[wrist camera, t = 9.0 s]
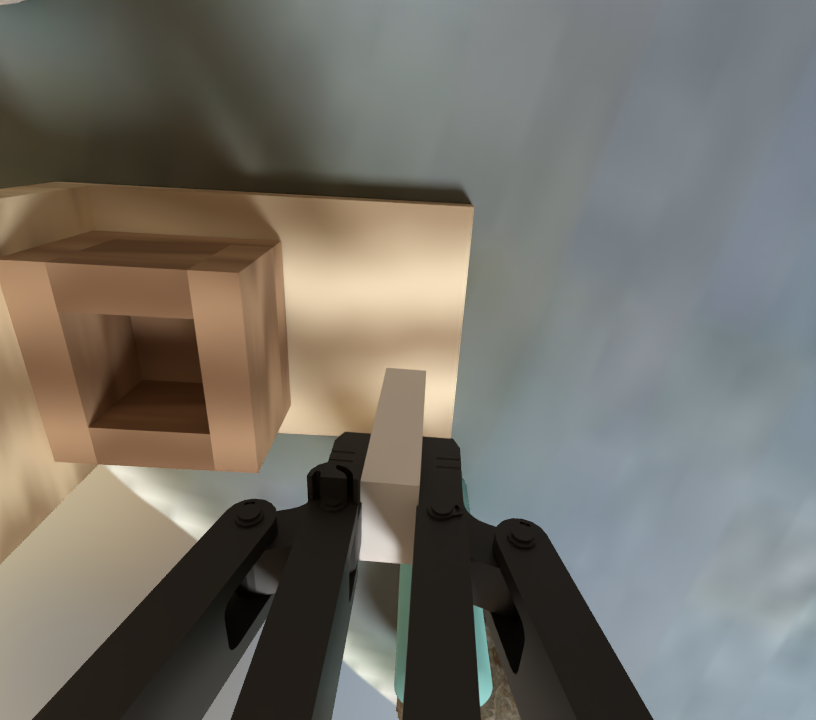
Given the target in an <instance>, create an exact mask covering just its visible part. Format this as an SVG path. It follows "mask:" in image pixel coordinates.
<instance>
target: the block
mask: <svg viewBox="0 0 816 720" xmlns="http://www.w3.org/2000/svg"><path fill="white" fill-rule="evenodd" d="M0 285H1V289H2V292H3V295H4V298H5V302H6V305H7V308H8V311H9V315H10V318H11V321H12V324H13V328H14V331H15V334H16V337H17V341H18V344H19V347H20V350H21V354H22V357H23V360H24V363H25V367H26V370H27V373H28V376H29V380H30V383H31V386H32V389H33V393H34V396H35V399H36V402H37V406H38V409H39V412H40V415H41V419H42V422H43V425H44V428H45V432H46V435H47V438H48V441H49V445H50V448H51V451H52V454H53V458H54V461H55V462H67V463H85V464H103V465H121V466H139V467H157V468H175V469H193V470H211V471H229V472H247V473H259V470H260V468H261V466H262V464H263V462H264V460H265V458H266V456H267V454H268V452H269V450H270V448H271V446H272V443H273V441H274V439H275V437H276V435H277V433H278V431H279V429H280V427H281V425H282V423H283V421H284V419H285V417H286V414H287V412H288V410H289V408H290V406H291V396H290V378H289V361H288V344H287V327H286V309H285V292H284V275H283V258H282V241H275V240H257V239H239V238H221V237H203V236H184V235H166V234H148V233H130V232H112V231H89V232H86V233H82V234H79V235H75V236H72V237H69V238H65V239H62V240H58V241H55V242H51V243H48V244H44V245H41V246H37V247H34V248H30V249H27V250H23V251H20V252H16V253H13V254H10V255H6V256H3V257H0Z"/></svg>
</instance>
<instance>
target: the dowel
mask: <svg viewBox="0 0 816 720" xmlns="http://www.w3.org/2000/svg"><path fill="white" fill-rule="evenodd" d="M462 489H463V502H464V506H465V508H466V509H467V511H468V512H469V513H470V509H469V501H468V493H467V487H466V484H465V482H464V480H463V478H462ZM411 577H412V565H411V564H400V578H399V599H398V619H397V640H396V661H395V682H394V688H395V693H396V695H397V697H398V698H399V700H400V701H401V702H402V703H403V695H404V680H405V665H406V651H407V636H408V621H409V606H410V591H411ZM473 609H474V624H475V638H476V653H477V668H478V683H479V698H480V707H481V706H482V705H483V704H484V703H485V702H486V701H487V700H488V699H489V697H490V695H491V693H492V688H493V685H492V677H491V670H490V662H489V654H488V647H487V639H486V631H485V624H484V616H483V609H482V608H480V607H477V606H475V605H473Z"/></svg>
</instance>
